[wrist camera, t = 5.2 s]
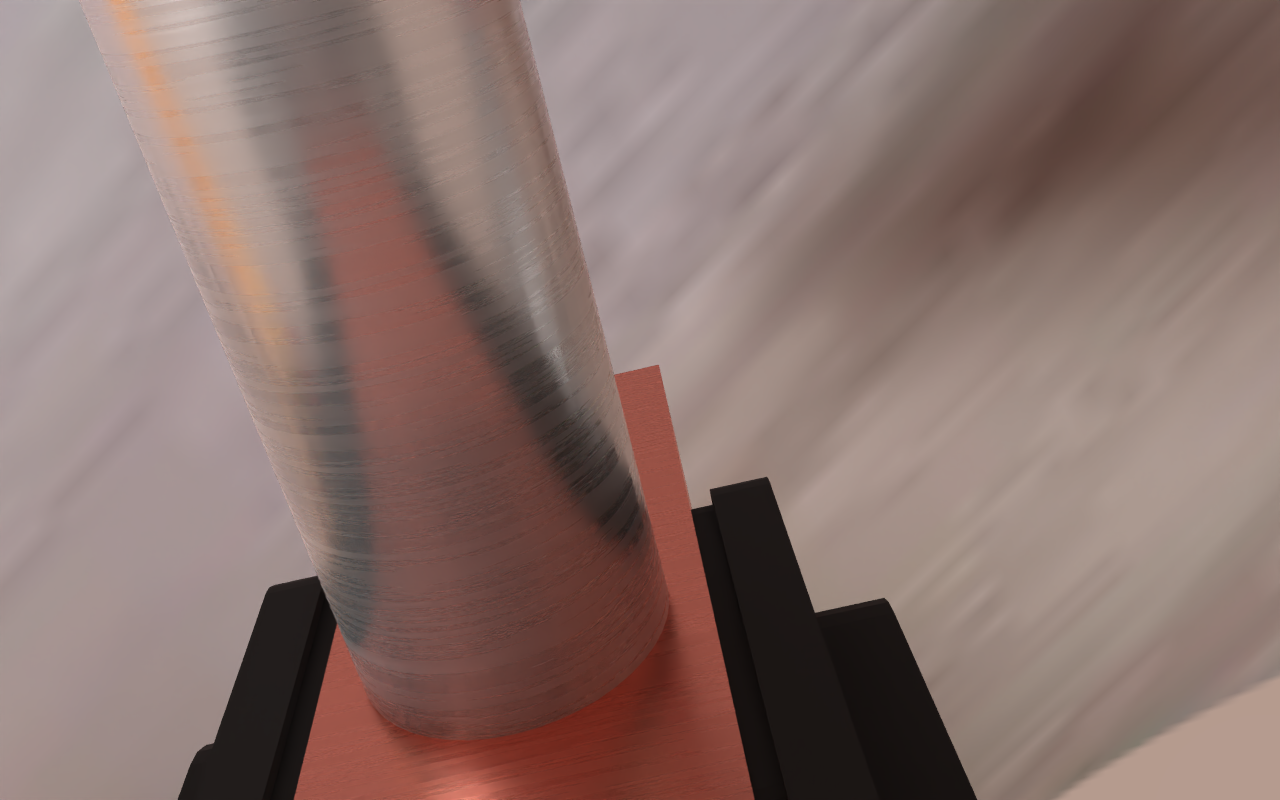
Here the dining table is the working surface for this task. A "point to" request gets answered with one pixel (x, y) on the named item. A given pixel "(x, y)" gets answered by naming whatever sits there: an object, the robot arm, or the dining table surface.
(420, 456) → the shaft
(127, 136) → the dining table surface
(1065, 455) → the dining table surface
